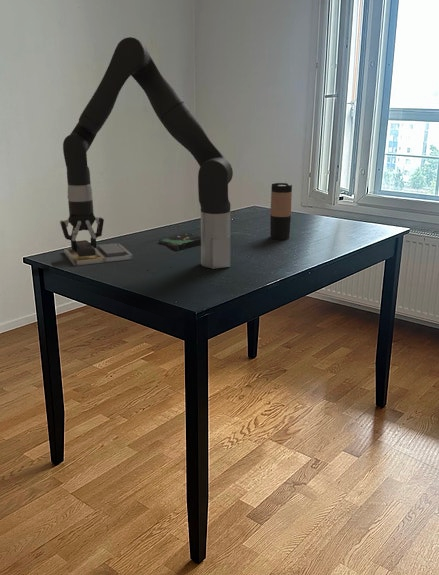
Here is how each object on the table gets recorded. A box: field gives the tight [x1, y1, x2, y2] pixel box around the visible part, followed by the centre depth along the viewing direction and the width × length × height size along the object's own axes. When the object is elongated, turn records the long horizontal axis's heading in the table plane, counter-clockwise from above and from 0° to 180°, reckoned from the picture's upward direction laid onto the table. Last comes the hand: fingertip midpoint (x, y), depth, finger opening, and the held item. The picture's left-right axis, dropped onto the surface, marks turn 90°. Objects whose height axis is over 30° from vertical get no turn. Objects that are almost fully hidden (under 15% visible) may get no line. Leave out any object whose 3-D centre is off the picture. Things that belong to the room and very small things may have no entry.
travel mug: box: [269, 182, 293, 241], centre depth 217 cm, size 8×8×20 cm
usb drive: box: [76, 239, 96, 257], centre depth 189 cm, size 5×12×3 cm, turn 22°
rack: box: [63, 242, 134, 267], centre depth 191 cm, size 17×19×2 cm
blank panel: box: [97, 242, 125, 258], centre depth 193 cm, size 12×6×2 cm, turn 25°
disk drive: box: [158, 232, 201, 252], centre depth 210 cm, size 10×3×15 cm
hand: (84, 250), depth 189 cm, fingers closed on usb drive, 5 cm apart
